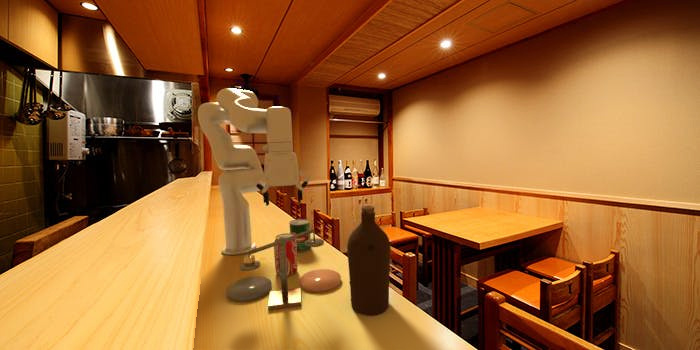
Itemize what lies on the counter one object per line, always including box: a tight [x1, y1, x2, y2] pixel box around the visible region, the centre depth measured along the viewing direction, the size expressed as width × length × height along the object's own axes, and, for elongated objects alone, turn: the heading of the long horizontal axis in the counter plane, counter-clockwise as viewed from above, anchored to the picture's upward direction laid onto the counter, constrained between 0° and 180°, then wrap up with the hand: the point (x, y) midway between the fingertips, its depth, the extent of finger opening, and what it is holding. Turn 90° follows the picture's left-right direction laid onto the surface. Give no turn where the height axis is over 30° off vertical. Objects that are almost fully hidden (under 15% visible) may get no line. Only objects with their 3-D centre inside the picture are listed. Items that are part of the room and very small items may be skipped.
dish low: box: [225, 276, 273, 303], centre depth 79 cm, size 12×12×1 cm
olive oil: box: [346, 205, 391, 316], centre depth 69 cm, size 11×11×25 cm
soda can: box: [273, 232, 298, 277], centre depth 90 cm, size 7×7×12 cm
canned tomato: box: [289, 218, 312, 253], centre depth 110 cm, size 8×8×11 cm
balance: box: [238, 228, 325, 311], centre depth 73 cm, size 7×21×19 cm, turn 101°
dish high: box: [299, 268, 342, 293], centre depth 83 cm, size 12×12×1 cm
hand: (283, 203), depth 88 cm, fingers open, 9 cm apart
